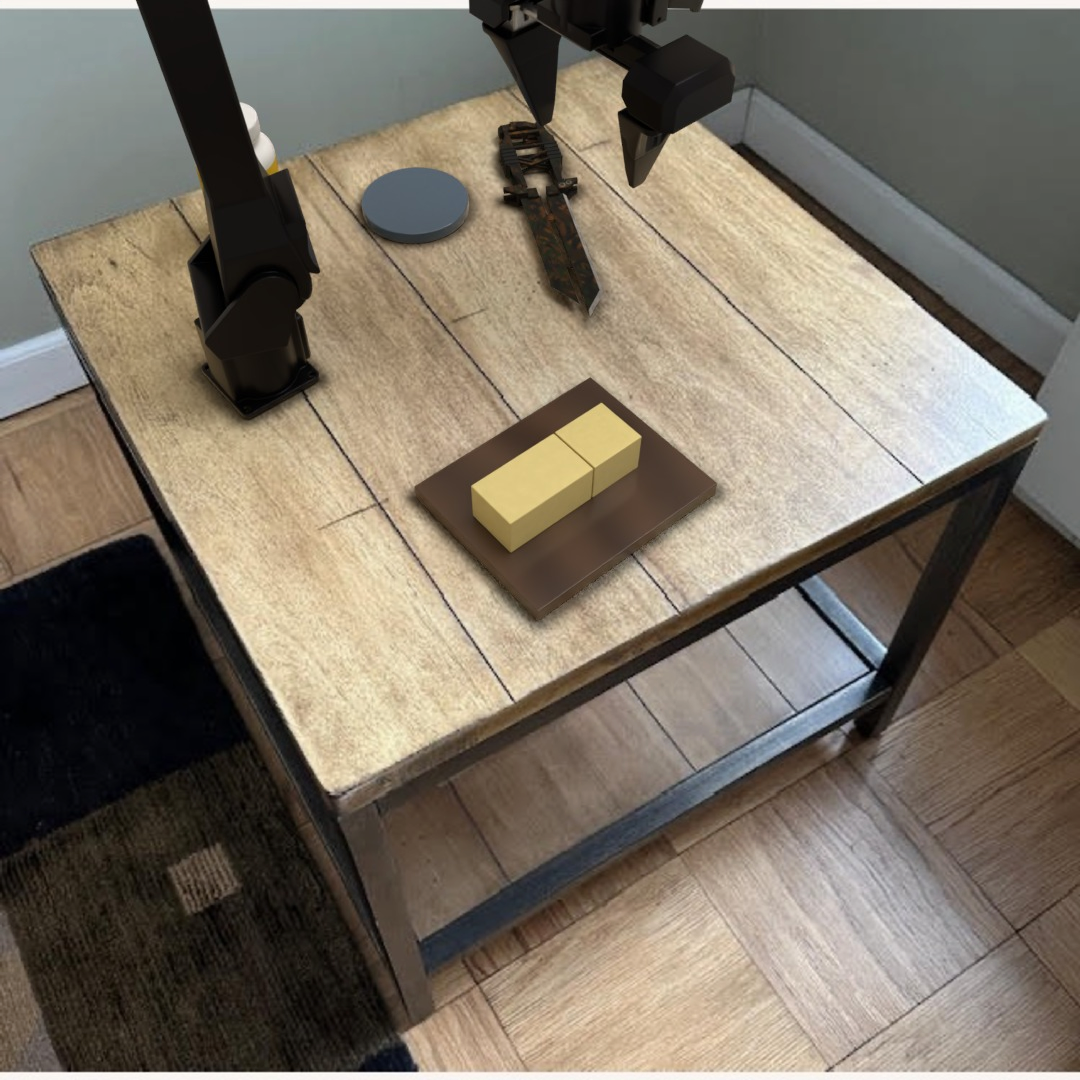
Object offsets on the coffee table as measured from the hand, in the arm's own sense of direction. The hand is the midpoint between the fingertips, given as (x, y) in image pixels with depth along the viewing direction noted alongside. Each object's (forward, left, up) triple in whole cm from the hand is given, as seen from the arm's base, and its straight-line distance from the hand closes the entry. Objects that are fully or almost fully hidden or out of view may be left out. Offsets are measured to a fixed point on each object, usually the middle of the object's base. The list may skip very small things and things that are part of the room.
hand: (589, 153), depth 75 cm
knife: (+5, +9, -14) cm, 18 cm away
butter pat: (-11, -14, -13) cm, 21 cm away
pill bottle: (-15, +23, -14) cm, 31 cm away
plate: (-3, +18, -14) cm, 23 cm away
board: (-13, -14, -14) cm, 24 cm away
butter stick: (-16, -14, -13) cm, 25 cm away
